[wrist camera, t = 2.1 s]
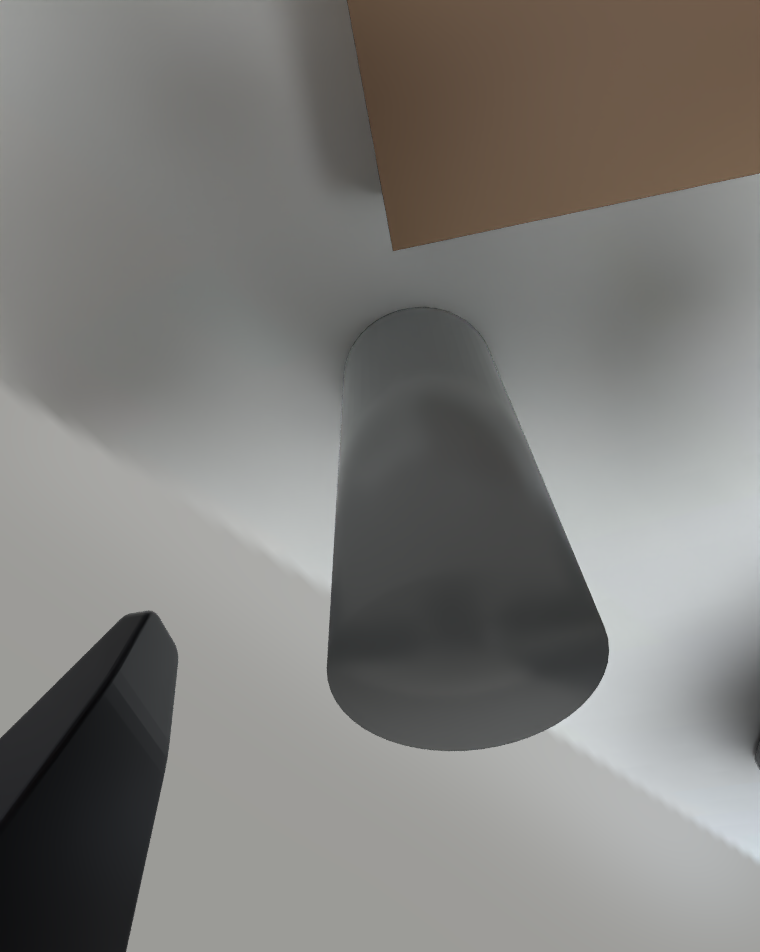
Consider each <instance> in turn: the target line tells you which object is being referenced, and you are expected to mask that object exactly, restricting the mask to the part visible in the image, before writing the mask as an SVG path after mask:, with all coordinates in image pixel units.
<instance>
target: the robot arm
mask: <svg viewBox="0 0 760 952" xmlns="http://www.w3.org/2000/svg"><path fill="white" fill-rule="evenodd" d="M177 667H178V652H177V648H176V645H175V643H174V642H173V640H172V638H171V636H170V635H169V633H168V631H167V630H166V628H165V626H164V625H163V623H162V621H161V619H160V618H159V616H158V615H157V614H156V613H155V612H153V611H143V612H137V613H131V614H128V615H125V616H124V617H123V618H121V619H120V620H119V621H118V622H117V623H116V624H115V625H114V626H113V627H112V628H111V629H110V630H109V631H108V632H107V633H106V634H105V635H104V636H103V637H102V638H101V639H100V640H99V641H98V642H97V643H96V644H95V645H94V646H93V647H92V648H91V649H90V650H89V651H88V652H87V653H86V654H85V655H84V656H83V657H82V658H81V659H80V660H79V661H78V662H77V663H76V664H75V665H74V666H73V667H72V668H71V669H70V670H69V671H68V672H67V673H66V674H65V675H64V676H63V677H62V678H61V679H60V680H59V681H58V682H57V683H56V684H55V685H54V686H53V687H52V688H51V689H50V690H49V691H48V692H47V693H46V694H45V695H44V696H43V697H42V698H41V699H40V700H39V701H38V702H37V703H36V704H35V705H34V706H33V707H32V708H31V709H30V710H29V711H28V712H27V713H26V714H24V715H23V716H22V717H21V719H19V720H18V721H17V722H16V723H15V725H13V726H12V727H11V728H10V729H9V730H8V731H7V732H6V733H5V734H4V735H3V736H2V737H1V738H0V952H126V949H127V945H128V940H129V935H130V931H131V926H132V921H133V917H134V912H135V908H136V903H137V898H138V894H139V889H140V884H141V880H142V875H143V871H144V866H145V861H146V857H147V852H148V848H149V843H150V838H151V834H152V829H153V824H154V820H155V815H156V810H157V806H158V801H159V797H160V792H161V787H162V782H163V778H164V773H165V768H166V763H167V757H168V750H169V743H170V732H171V724H172V713H173V705H174V695H175V686H176V677H177ZM755 762H756V764H757V766H758V767H759V769H760V741H759V744H758V748H757V752H756V756H755Z"/></svg>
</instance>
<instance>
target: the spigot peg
mask: <svg viewBox="0 0 760 952" xmlns="http://www.w3.org/2000/svg"><path fill="white" fill-rule="evenodd" d="M608 655H609V645H608V637H607V634H606V631H605V628H604V625H603V623H602V620H601V618H600V615H599V613H598V611H597V608H596V606H595V603H594V601H593V599H592V596H591V594H590V591H589V589H588V587H587V584H586V582H585V579H584V577H583V575H582V572H581V570H580V567H579V565H578V563H577V560H576V558H575V555H574V553H573V551H572V548H571V546H570V543H569V541H568V539H567V536H566V534H565V531H564V529H563V527H562V524H561V522H560V519H559V517H558V515H557V512H556V510H555V507H554V505H553V503H552V500H551V498H550V495H549V493H548V491H547V488H546V486H545V483H544V481H543V479H542V476H541V474H540V471H539V469H538V467H537V464H536V462H535V459H534V457H533V455H532V452H531V450H530V447H529V445H528V443H527V440H526V438H525V435H524V433H523V431H522V428H521V426H520V423H519V421H518V419H517V416H516V414H515V411H514V409H513V407H512V404H511V402H510V399H509V397H508V395H507V392H506V390H505V387H504V385H503V383H502V380H501V378H500V375H499V373H498V371H497V368H496V366H495V363H494V361H493V359H492V356H491V354H490V351H489V349H488V347H487V345H486V343H485V341H484V339H483V338H482V337H481V335H480V334H479V333H478V332H477V330H476V329H475V328H474V327H473V326H472V325H470V324H469V323H468V322H466V321H465V320H464V319H462V318H460V317H458V316H457V315H455V314H452V313H450V312H447V311H444V310H440V309H435V308H427V307H423V308H409V309H404V310H400V311H396V312H393V313H391V314H389V315H386V316H384V317H382V318H381V319H379V320H377V321H376V322H374V323H373V324H372V325H370V326H369V327H368V328H367V329H366V330H365V331H364V332H363V333H362V334H361V335H360V336H359V338H358V339H357V340H356V341H355V343H354V345H353V347H352V348H351V350H350V352H349V355H348V357H347V360H346V364H345V369H344V380H343V398H342V415H341V432H340V450H339V467H338V484H337V502H336V519H335V536H334V554H333V571H332V588H331V606H330V623H329V641H328V658H327V676H328V683H329V686H330V690H331V692H332V694H333V696H334V698H335V700H336V702H337V703H338V704H339V706H340V707H341V709H342V710H343V711H344V712H345V713H346V714H347V715H348V716H349V717H350V718H351V719H352V720H353V721H354V722H356V723H357V724H358V725H360V726H361V727H363V728H364V729H366V730H368V731H369V732H371V733H373V734H375V735H377V736H379V737H382V738H384V739H386V740H389V741H392V742H395V743H399V744H402V745H406V746H410V747H415V748H421V749H429V750H440V751H467V750H478V749H485V748H490V747H496V746H501V745H505V744H509V743H513V742H516V741H519V740H522V739H525V738H528V737H531V736H533V735H535V734H538V733H540V732H542V731H544V730H546V729H548V728H550V727H552V726H554V725H556V724H557V723H559V722H561V721H562V720H564V719H565V718H567V717H568V716H570V715H571V714H572V713H573V712H574V711H576V710H577V709H578V708H579V707H580V706H581V705H582V704H583V703H584V702H585V701H586V700H587V699H588V698H589V697H590V696H591V695H592V693H593V692H594V691H595V689H596V688H597V686H598V685H599V683H600V681H601V679H602V677H603V675H604V672H605V669H606V666H607V663H608Z"/></svg>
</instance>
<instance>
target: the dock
mask: <svg viewBox="0 0 760 952" xmlns="http://www.w3.org/2000/svg"><path fill="white" fill-rule="evenodd" d="M347 3H348V8H349V14H350V19H351V25H352V30H353V36H354V41H355V47H356V52H357V57H358V63H359V68H360V74H361V79H362V85H363V90H364V96H365V101H366V107H367V112H368V117H369V123H370V128H371V134H372V139H373V145H374V150H375V156H376V161H377V167H378V172H379V177H380V183H381V188H382V194H383V199H384V205H385V210H386V216H387V221H388V226H389V232H390V237H391V243H392V248H393V251H396V250H401V249H405V248H410V247H415V246H419V245H424V244H429V243H434V242H438V241H443V240H448V239H452V238H457V237H462V236H467V235H471V234H476V233H481V232H485V231H490V230H495V229H500V228H504V227H509V226H514V225H518V224H523V223H528V222H532V221H537V220H542V219H547V218H551V217H556V216H561V215H565V214H570V213H575V212H580V211H584V210H589V209H594V208H598V207H603V206H608V205H613V204H617V203H622V202H627V201H631V200H636V199H641V198H646V197H650V196H655V195H660V194H664V193H669V192H674V191H678V190H683V189H688V188H693V187H697V186H702V185H707V184H711V183H716V182H721V181H726V180H730V179H735V178H740V177H744V176H749V175H754V174H759V173H760V0H347Z"/></svg>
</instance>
